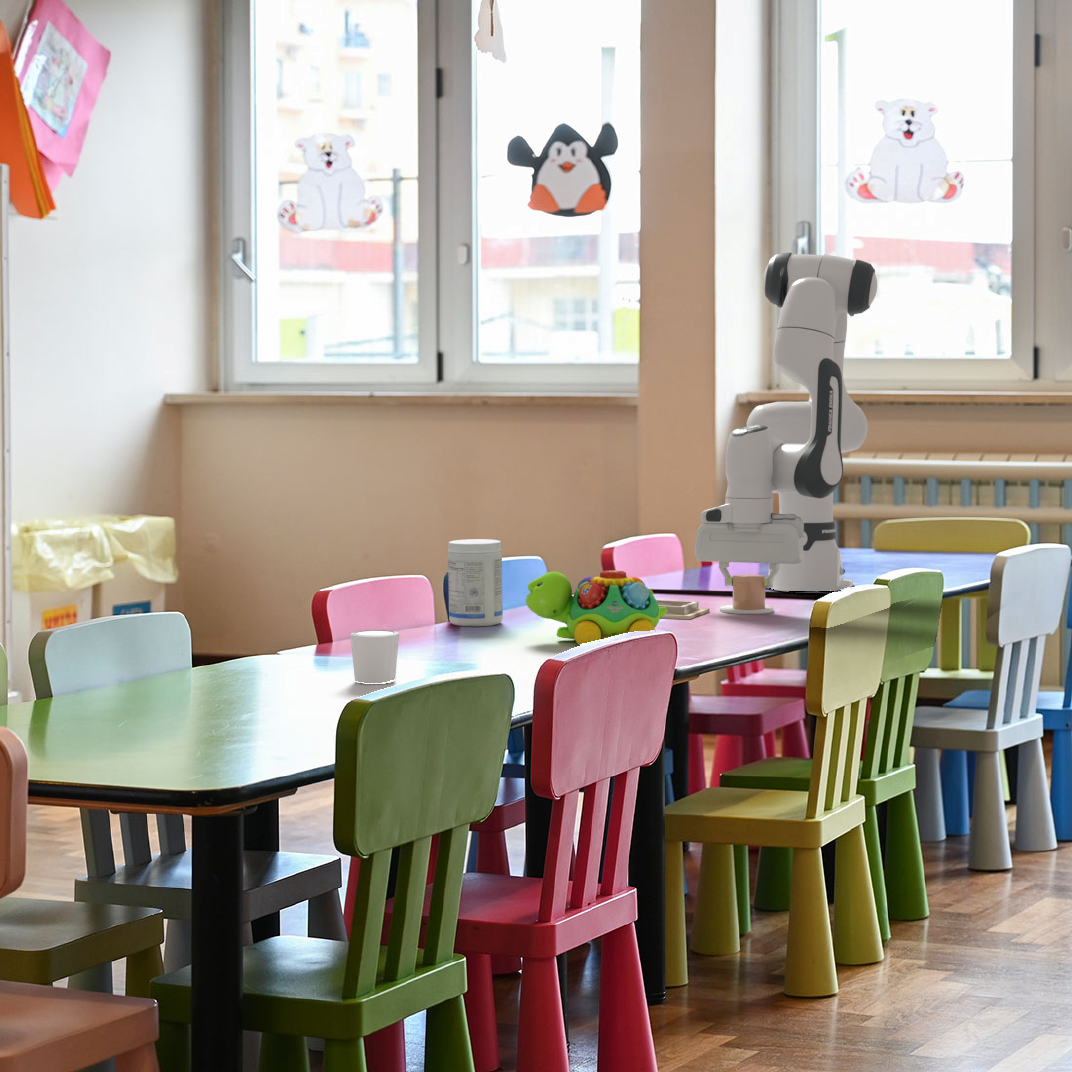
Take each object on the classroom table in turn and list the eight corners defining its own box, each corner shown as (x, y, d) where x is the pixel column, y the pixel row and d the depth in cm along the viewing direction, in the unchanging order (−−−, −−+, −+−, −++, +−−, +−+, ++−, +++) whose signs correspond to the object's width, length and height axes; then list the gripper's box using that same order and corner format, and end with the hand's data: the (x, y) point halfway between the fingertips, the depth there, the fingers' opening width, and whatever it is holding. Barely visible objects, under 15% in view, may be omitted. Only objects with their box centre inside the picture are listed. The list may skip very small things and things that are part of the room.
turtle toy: (525, 635, 291) (525, 566, 290) (662, 634, 291) (662, 565, 290) (526, 649, 274) (526, 576, 273) (672, 649, 274) (672, 575, 274)
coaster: (728, 606, 329) (728, 603, 329) (779, 609, 325) (779, 606, 325) (712, 612, 320) (712, 609, 320) (764, 615, 316) (765, 612, 316)
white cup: (343, 680, 244) (342, 631, 243) (387, 676, 247) (386, 628, 247) (362, 687, 238) (362, 637, 237) (407, 683, 241) (407, 633, 241)
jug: (768, 606, 323) (768, 575, 323) (755, 612, 315) (755, 580, 314) (737, 605, 326) (737, 573, 325) (723, 611, 317) (723, 578, 316)
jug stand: (648, 608, 326) (648, 598, 326) (709, 611, 321) (709, 601, 321) (626, 616, 315) (626, 605, 315) (688, 619, 310) (688, 608, 310)
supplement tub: (481, 618, 312) (480, 537, 310) (513, 624, 304) (513, 541, 303) (437, 623, 305) (437, 540, 304) (469, 628, 298) (469, 544, 297)
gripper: (808, 513, 319) (807, 587, 320) (702, 511, 327) (702, 583, 328) (799, 515, 314) (799, 590, 315) (692, 512, 322) (692, 586, 323)
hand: (748, 586), depth 322 cm, fingers closed on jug, 6 cm apart
